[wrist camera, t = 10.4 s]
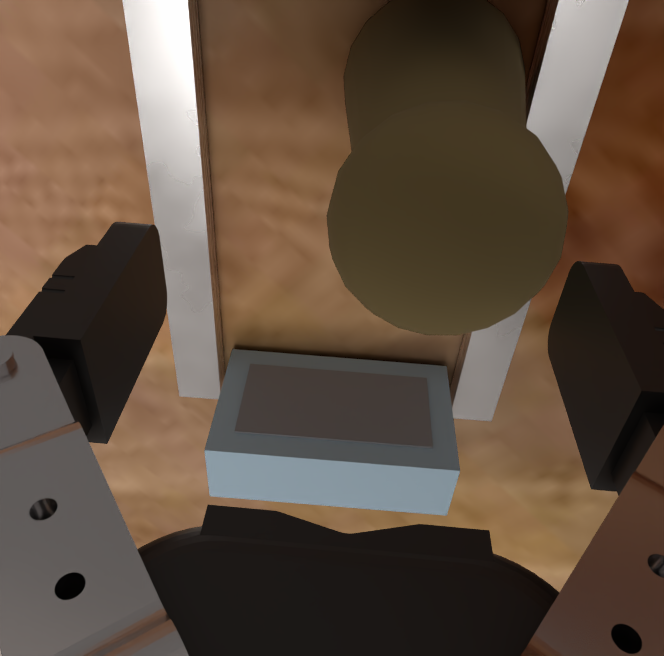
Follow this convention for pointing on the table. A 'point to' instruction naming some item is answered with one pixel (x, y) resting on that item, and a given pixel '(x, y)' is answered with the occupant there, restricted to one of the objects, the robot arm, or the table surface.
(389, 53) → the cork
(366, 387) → the free jaw
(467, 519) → the table surface
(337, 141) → the table surface
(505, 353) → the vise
